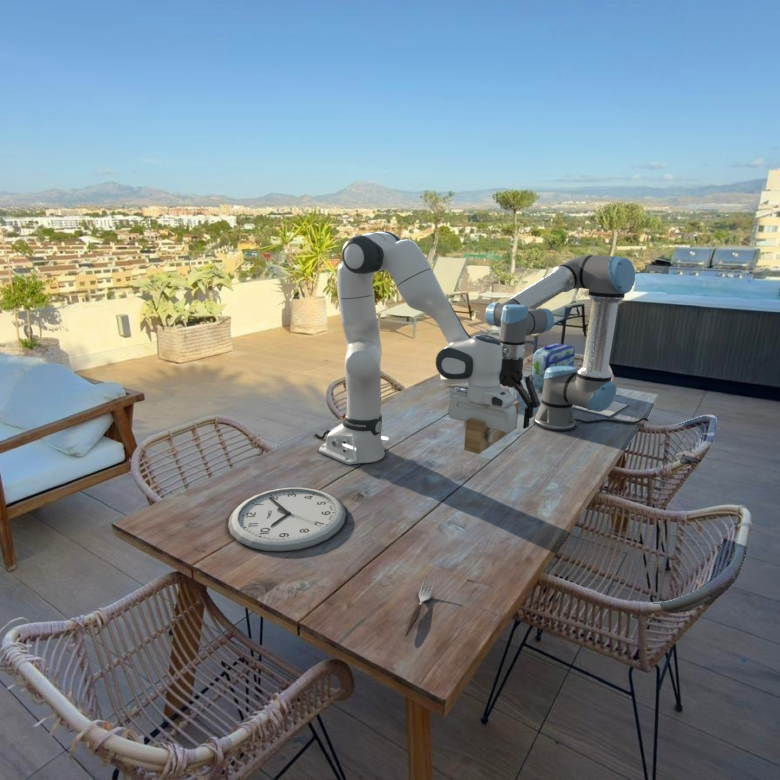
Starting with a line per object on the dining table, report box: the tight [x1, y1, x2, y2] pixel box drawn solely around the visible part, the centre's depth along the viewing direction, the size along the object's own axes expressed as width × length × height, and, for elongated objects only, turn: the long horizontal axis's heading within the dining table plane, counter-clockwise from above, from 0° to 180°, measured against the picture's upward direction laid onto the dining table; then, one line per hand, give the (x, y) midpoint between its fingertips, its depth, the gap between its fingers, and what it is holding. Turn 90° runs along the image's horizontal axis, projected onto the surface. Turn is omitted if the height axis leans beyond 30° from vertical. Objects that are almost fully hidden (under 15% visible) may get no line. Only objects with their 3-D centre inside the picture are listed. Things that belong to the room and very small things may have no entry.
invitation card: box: [573, 400, 629, 418], centre depth 226 cm, size 21×1×15 cm
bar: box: [463, 400, 520, 455], centre depth 157 cm, size 26×5×9 cm, turn 143°
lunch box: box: [530, 343, 576, 391], centre depth 249 cm, size 26×11×21 cm, turn 134°
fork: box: [405, 577, 435, 637], centre depth 104 cm, size 3×16×2 cm, turn 160°
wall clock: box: [227, 487, 347, 552], centre depth 136 cm, size 30×2×30 cm
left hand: (479, 438), depth 151 cm, fingers closed on bar, 5 cm apart
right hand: (505, 422), depth 164 cm, fingers open, 13 cm apart
